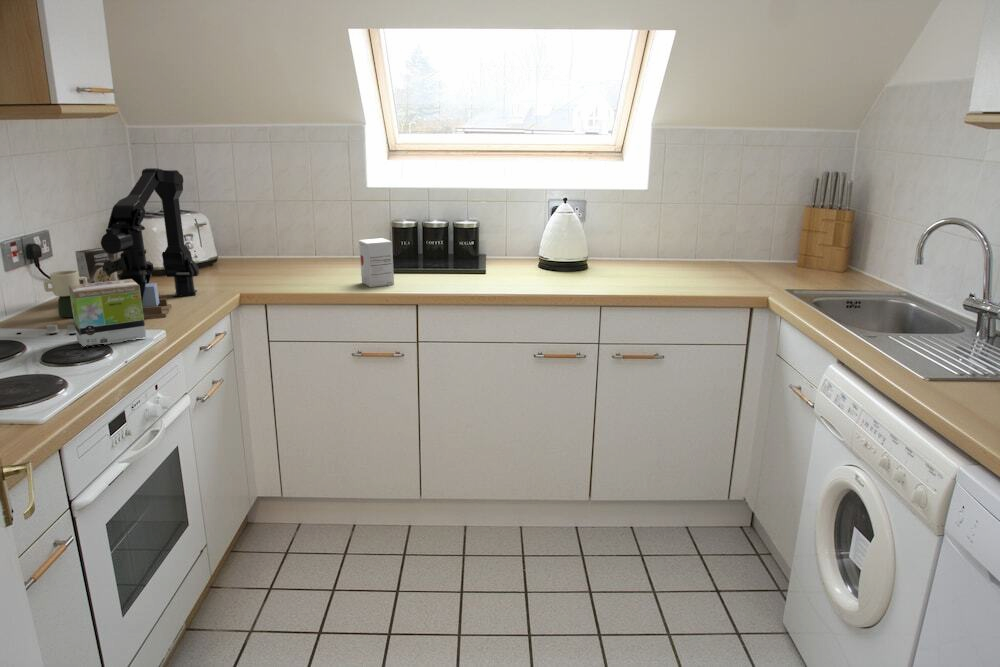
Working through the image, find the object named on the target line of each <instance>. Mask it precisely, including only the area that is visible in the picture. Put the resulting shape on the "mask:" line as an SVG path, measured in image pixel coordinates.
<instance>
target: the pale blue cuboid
mask: <svg viewBox="0 0 1000 667" xmlns="http://www.w3.org/2000/svg"><path fill="white" fill-rule="evenodd" d="M159 297H160V296H159V291H158V282H151V283H150V282H149V284H146V286H145V290H144V295H143V299H142V307H155V306H158V304H159V299H160V298H159Z"/></svg>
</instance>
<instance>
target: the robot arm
mask: <svg viewBox="0 0 1000 667" xmlns="http://www.w3.org/2000/svg"><path fill="white" fill-rule="evenodd" d="M183 191H184V176H183V174H181V173H180V171H178V170H177V169H169V170H165V169H161V168H158V167H153V168H152V167H151V168H150V167H146V168H145V169H142V171H141V176H140V177H139V178H138V180H137V182H136V184H134V186H133V187H132V189H131V191H130V192H129V194H127V196H125V197H123V198H121V199H119V200H118V201H117V202H116V203H115V204H114V205H113V207H112V209H111V212H110V217H109V220H108V221H109V222H108V224H107V228H106V229H105V232H106V233H105V234H103V236H102V237H101V240H100V245H101V248H103V249H104V250H105V251H106V252H107V253H110V254H114V255H115V254H118V253H120V257H117V258H116V259H115V260H110V259H109V260H108V261H105V262H104V265H102V267H103V271H104V272H105V273H106V274H107V276H109V275H111V274H112V273H114V272H117V273H118V272H119V271H122V272H121V273H120V274H119V276H118V280H126V279H132V280H134V281H135V282H136V283H137V284H138V285H139V286H140V293H141V301H142V299H143V295H144V290H145V286H146V284H149V283H150V281H151V279H152V278H151V277H152V274H153V273H152V272H153V271H154V264H153V262H151V261H149V260H147V259H146V258H147V256H146V254H147V249H145V245H144V237H143V231H144V230H145V229H146V228H145V226H144V225H143V224H141V223H142V222H143V220H144V219H145V215H146V209H145V206H146V204H147V202H148V201H149V199H150V198H151V196H152V194H153V193H154V192H155V194H157V195H158V197H159V198H160V200H161V204H162V211H163V212H162V213H163V218H164V219H163V220H164V228H165V235H166V243H167V244H166V245H167V246H166V248H165V250H164V251H163V252H162V253H161V256H162V266H163V268H164V269H163V270H164V271H165V275H166V277H167V278H172V277H173V280H174V282H173V283H174V287H175V288H174V289H175V292H174V294H173V297H174V298H175V297H189V296H190V297H191V296H196V295H197V293H196V292H198V290H197V289H195V283H194V282H195V281H194V277H198V276H199V275H200V268H199V266H198V265H197V264H196V262H195V261H194V260H193V257H192V252H191V251H190V250H189V248H188V247H187V246H186V245H185V241H184V240H185V239H184V238H185V237H184V233H183V231H184V230H183V225H182V224H183V223H182V215H181V214H182V213H181V209H180V208H181V207H180V198H181V195H182V194H183ZM147 271H150V272H147Z"/></svg>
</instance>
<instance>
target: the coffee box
mask: <svg viewBox="0 0 1000 667" xmlns="http://www.w3.org/2000/svg"><path fill="white" fill-rule="evenodd" d="M74 252H75V258H76V259H75V260H76V264H77V271H78V274H79V277H86V278H87V283H98V282H107V281H117V280H119V277H118V271H117V272H114V273H112V274H111V275H109V276H107V274H106V273H105V272H104V271H103V267H102V265H104V262H105V261H108V260H109V259H110V260H115V258H116V257H115V254H110V253H107V252H106V251H105V250H104V249H103V248H102V247H95V248H89V249H84V250H83V249H82V250H76V251H74ZM80 284H84V282H83V280H80Z"/></svg>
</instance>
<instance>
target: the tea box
mask: <svg viewBox="0 0 1000 667" xmlns="http://www.w3.org/2000/svg"><path fill="white" fill-rule="evenodd" d="M69 292H70V299H71V305H72V312H73V316H72V317H73V323H74V324H73V325H74V329H75V336H76V340H77V341H78V343H79V345H80V344H81V345H82V346H86V345H93V344H104V345H109V344H110V345H111V343H112V344H117V343H118V344H119V343H124V342H123V341H127V340H133V339H136V338H143V337H146V338H147V331H146V323H145V319H144V315H143V308H142V301H141V293H140V286H139V285H138V284H137V283H136V282H135V281H134V280H132V279H126V280H119V279H118V280H117V281H107V282H98V283H88V284H79V285H70V286H69ZM127 342H128V341H127ZM81 345H80V346H81ZM82 346H81V347H82Z"/></svg>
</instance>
